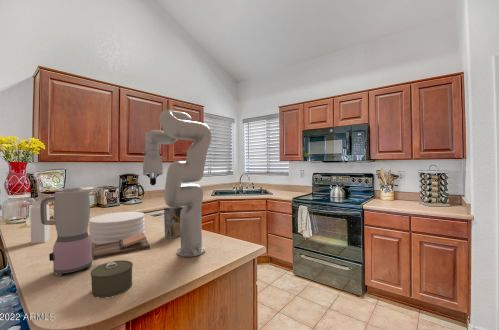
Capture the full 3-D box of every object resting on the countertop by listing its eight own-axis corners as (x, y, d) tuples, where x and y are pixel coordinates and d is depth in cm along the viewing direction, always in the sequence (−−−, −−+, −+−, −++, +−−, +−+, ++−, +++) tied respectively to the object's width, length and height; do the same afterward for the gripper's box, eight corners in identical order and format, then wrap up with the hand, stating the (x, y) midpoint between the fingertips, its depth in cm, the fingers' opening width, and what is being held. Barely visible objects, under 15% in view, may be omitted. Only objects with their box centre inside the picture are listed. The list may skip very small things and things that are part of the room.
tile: (121, 246, 111) (121, 248, 111) (145, 236, 117) (146, 238, 117) (120, 240, 119) (120, 242, 120) (143, 232, 125) (143, 233, 125)
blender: (89, 260, 101) (88, 186, 101) (95, 268, 93) (94, 187, 93) (40, 272, 90) (38, 189, 90) (42, 283, 82) (41, 191, 82)
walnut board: (149, 248, 115) (149, 243, 115) (93, 259, 103) (93, 252, 103) (145, 239, 128) (145, 235, 128) (94, 248, 116) (94, 242, 116)
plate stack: (101, 248, 117) (101, 225, 117) (81, 238, 134) (80, 218, 134) (154, 234, 139) (154, 215, 139) (130, 227, 156) (130, 210, 156)
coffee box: (177, 232, 141) (177, 205, 141) (184, 234, 137) (184, 207, 137) (164, 236, 134) (163, 208, 134) (170, 238, 130) (170, 209, 130)
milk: (36, 240, 130) (35, 200, 130) (49, 239, 132) (49, 200, 132) (30, 244, 124) (30, 202, 125) (45, 242, 127) (44, 201, 127)
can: (91, 303, 70) (91, 280, 70) (90, 286, 79) (89, 266, 79) (136, 290, 77) (135, 269, 77) (129, 276, 86) (129, 257, 86)
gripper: (139, 153, 129) (139, 186, 129) (167, 153, 137) (167, 184, 137) (137, 153, 136) (138, 185, 136) (164, 153, 143) (165, 184, 143)
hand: (153, 185), depth 136 cm, fingers closed
